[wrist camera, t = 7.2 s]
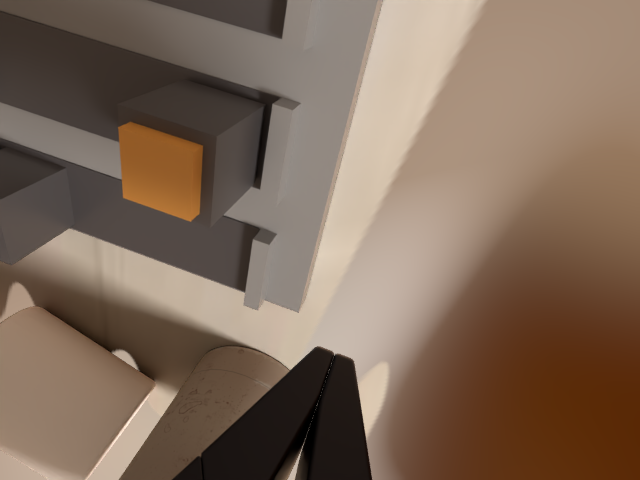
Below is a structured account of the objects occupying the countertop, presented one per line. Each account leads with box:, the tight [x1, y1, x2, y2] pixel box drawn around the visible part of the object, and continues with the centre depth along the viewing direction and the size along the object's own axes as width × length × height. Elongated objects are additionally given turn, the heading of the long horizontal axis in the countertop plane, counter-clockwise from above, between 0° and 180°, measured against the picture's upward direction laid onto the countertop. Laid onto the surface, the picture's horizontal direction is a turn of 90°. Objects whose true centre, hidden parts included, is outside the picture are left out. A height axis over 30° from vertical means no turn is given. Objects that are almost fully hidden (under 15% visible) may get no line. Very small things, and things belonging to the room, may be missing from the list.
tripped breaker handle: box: [117, 79, 266, 228], centre depth 16 cm, size 4×4×5 cm
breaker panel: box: [0, 0, 383, 313], centre depth 17 cm, size 20×17×5 cm
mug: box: [0, 306, 156, 480], centre depth 30 cm, size 12×10×8 cm
